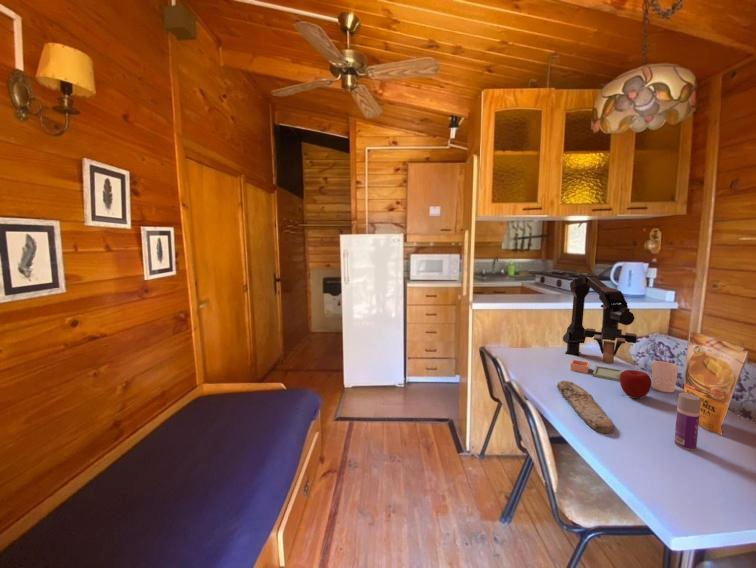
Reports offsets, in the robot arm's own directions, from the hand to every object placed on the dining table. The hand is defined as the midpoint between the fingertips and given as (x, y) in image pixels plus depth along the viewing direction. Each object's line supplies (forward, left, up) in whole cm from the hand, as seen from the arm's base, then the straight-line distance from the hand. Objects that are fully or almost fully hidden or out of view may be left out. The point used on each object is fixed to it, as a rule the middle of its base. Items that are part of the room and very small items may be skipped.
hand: (608, 354), depth 146 cm
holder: (0, -10, -10) cm, 14 cm away
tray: (0, 0, -10) cm, 10 cm away
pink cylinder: (+4, +19, -10) cm, 21 cm away
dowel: (0, 0, -4) cm, 4 cm away
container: (+48, +22, -10) cm, 54 cm away
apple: (+18, +10, -10) cm, 23 cm away
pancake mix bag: (+28, +28, -10) cm, 41 cm away
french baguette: (+38, -5, -10) cm, 40 cm away
